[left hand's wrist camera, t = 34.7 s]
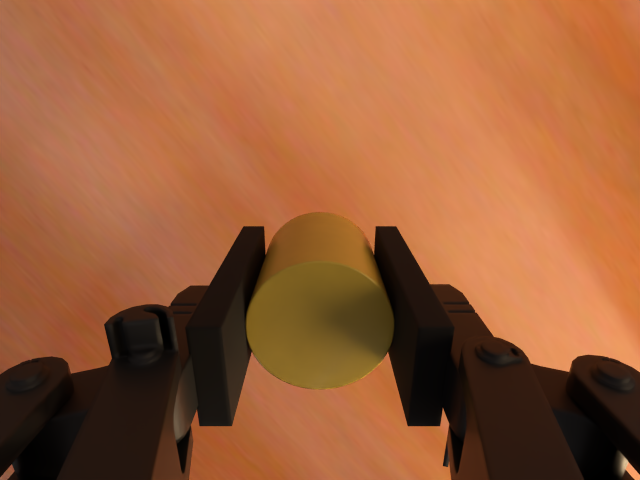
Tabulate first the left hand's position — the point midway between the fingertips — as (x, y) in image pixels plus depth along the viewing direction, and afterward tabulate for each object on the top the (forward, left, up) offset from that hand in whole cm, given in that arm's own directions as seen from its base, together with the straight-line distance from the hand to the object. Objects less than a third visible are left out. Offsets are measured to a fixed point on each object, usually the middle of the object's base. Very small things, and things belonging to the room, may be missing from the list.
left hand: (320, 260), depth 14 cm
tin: (0, 0, 0) cm, 0 cm away
